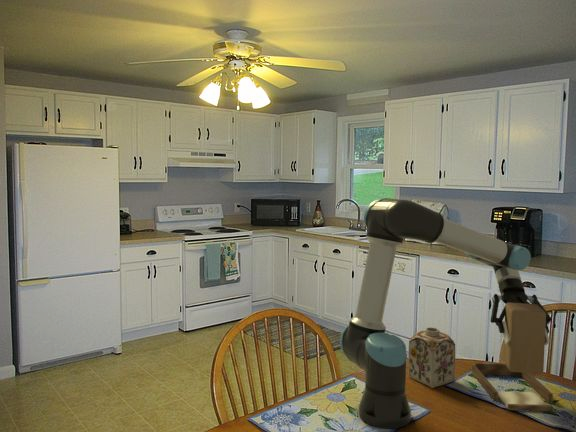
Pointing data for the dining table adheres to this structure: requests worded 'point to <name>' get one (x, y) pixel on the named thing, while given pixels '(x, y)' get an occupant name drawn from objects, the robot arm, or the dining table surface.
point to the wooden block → (525, 338)
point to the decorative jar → (431, 358)
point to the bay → (513, 398)
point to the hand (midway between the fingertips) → (527, 342)
